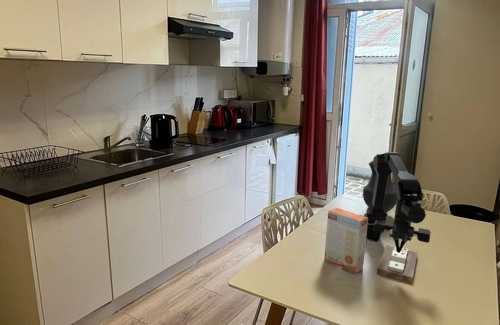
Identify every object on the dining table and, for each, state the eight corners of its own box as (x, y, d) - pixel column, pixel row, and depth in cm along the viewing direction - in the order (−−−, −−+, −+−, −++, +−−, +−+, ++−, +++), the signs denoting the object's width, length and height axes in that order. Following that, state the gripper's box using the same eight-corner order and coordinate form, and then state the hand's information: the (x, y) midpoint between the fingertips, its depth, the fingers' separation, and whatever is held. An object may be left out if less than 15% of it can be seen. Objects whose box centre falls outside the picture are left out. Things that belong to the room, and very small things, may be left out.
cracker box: (363, 269, 137) (369, 217, 132) (354, 274, 133) (360, 221, 128) (332, 255, 147) (336, 206, 142) (323, 259, 143) (327, 209, 138)
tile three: (392, 256, 145) (393, 250, 145) (394, 251, 150) (395, 245, 149) (406, 259, 143) (407, 253, 143) (407, 254, 147) (408, 248, 147)
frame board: (376, 273, 134) (377, 268, 133) (385, 249, 153) (386, 245, 152) (412, 282, 128) (412, 277, 128) (416, 256, 147) (417, 252, 147)
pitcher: (355, 209, 198) (360, 156, 191) (388, 207, 203) (394, 155, 196) (372, 221, 182) (379, 163, 175) (408, 219, 187) (416, 162, 180)
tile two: (390, 261, 139) (391, 255, 139) (392, 256, 143) (393, 249, 143) (404, 264, 137) (405, 258, 136) (406, 259, 141) (406, 252, 141)
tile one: (387, 272, 133) (388, 265, 133) (389, 266, 138) (390, 260, 137) (402, 276, 131) (403, 269, 131) (403, 270, 135) (404, 263, 135)
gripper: (372, 214, 126) (368, 255, 130) (431, 225, 118) (425, 268, 121) (378, 204, 136) (373, 243, 139) (433, 214, 127) (427, 255, 131)
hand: (398, 252), depth 132 cm, fingers closed
